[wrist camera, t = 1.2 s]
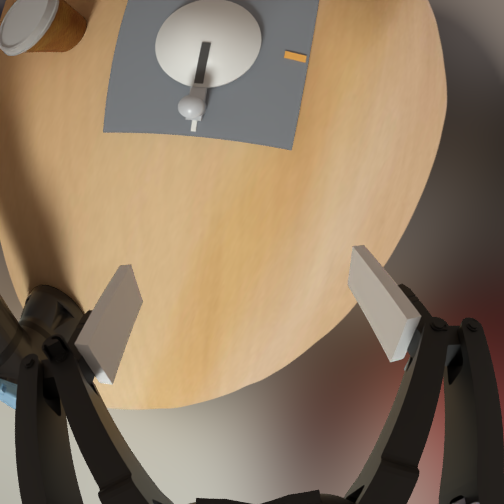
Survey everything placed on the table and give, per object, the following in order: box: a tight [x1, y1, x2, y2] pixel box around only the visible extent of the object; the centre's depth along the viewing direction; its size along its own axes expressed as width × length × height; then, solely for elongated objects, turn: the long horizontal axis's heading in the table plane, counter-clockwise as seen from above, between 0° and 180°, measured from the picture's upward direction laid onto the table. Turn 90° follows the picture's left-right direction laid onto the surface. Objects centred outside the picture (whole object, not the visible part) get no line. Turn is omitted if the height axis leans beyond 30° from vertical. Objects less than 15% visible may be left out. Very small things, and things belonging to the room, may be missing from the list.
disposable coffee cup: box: [0, 0, 86, 56], centre depth 16 cm, size 10×10×12 cm
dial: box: [155, 0, 261, 121], centre depth 23 cm, size 16×12×5 cm
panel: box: [103, 0, 319, 150], centre depth 25 cm, size 24×24×2 cm
